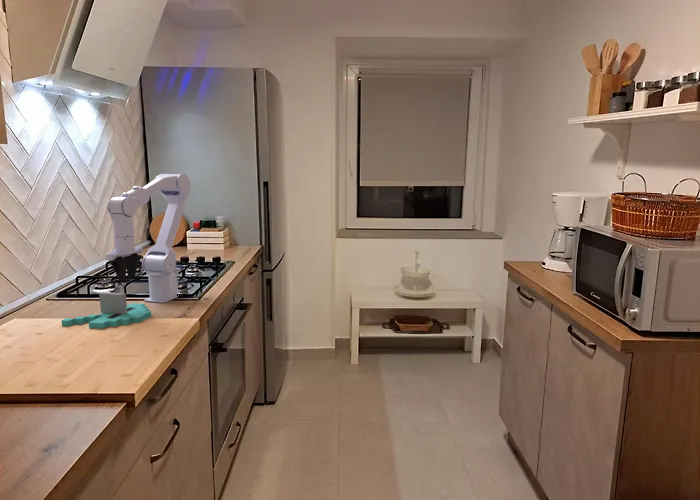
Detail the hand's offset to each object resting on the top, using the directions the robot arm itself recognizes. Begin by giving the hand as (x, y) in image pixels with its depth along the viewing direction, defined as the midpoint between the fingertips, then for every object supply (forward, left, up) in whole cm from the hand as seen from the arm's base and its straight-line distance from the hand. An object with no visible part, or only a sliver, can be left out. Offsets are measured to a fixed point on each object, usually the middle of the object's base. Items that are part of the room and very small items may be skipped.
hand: (126, 279), depth 156 cm
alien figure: (+6, 0, -11) cm, 13 cm away
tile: (+6, 0, -9) cm, 11 cm away
